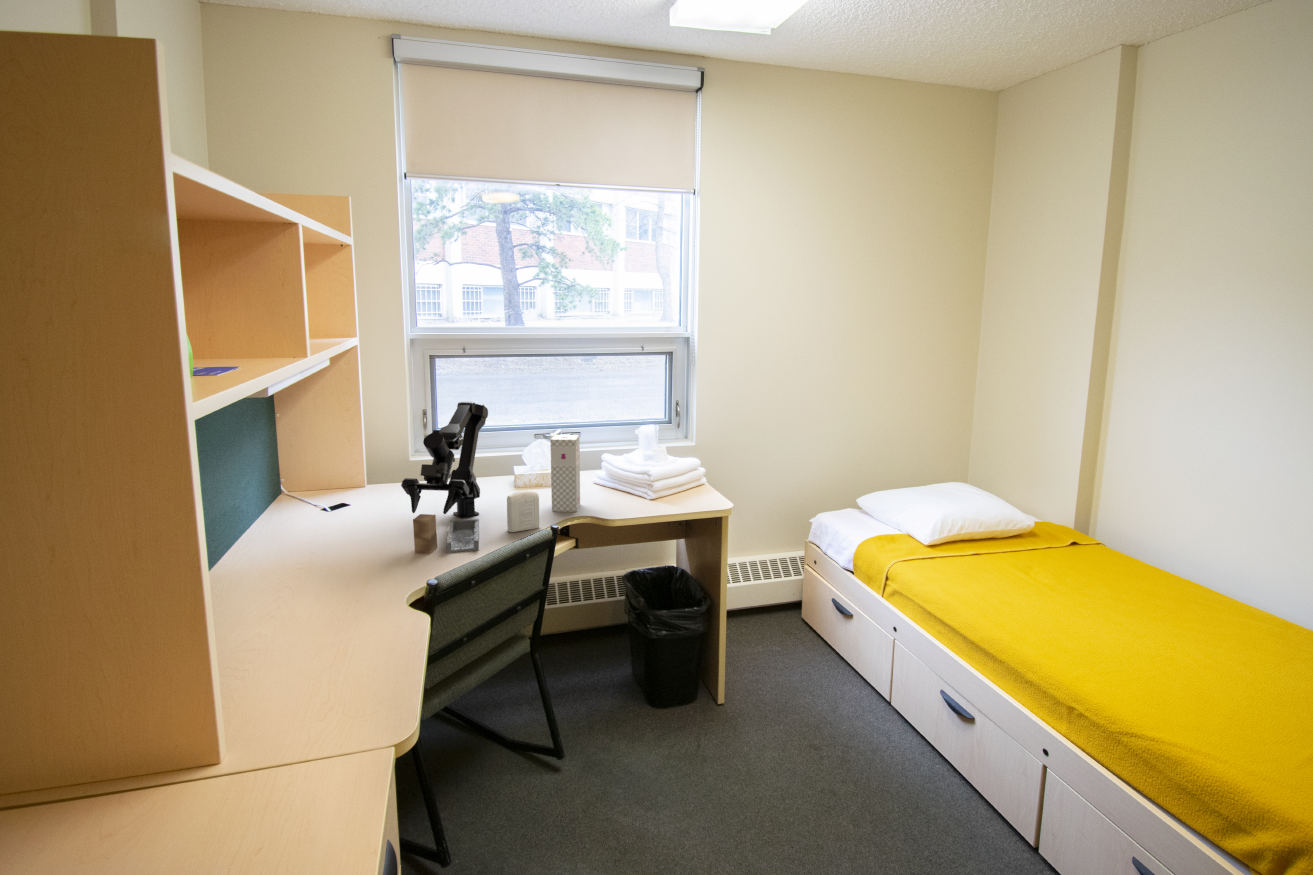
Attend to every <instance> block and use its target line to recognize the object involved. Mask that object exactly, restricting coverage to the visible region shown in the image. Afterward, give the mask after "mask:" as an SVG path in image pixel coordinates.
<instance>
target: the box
mask: <svg viewBox="0 0 1313 875" xmlns="http://www.w3.org/2000/svg"><path fill="white" fill-rule="evenodd" d="M580 449H581V448H580V434H554V435H553V436H552V437H551V438H550V474H551V475H550V479H551V484H550V485H551V512H571V513H572V512H574V513H575V512H576V513H577V512H578V510H579V507H580V506H581V479H580V478H581V468H580V467H581V466H580V465H581V460H580V459H581V458H580V455H581V454H580Z"/></svg>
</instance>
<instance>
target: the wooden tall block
mask: <svg viewBox="0 0 1313 875" xmlns="http://www.w3.org/2000/svg"><path fill="white" fill-rule="evenodd" d="M436 516H437V515H436V514H427V513H424V514H423V513H420V514H419V515H417V516H416V517H414V518H413V519H412V523H413V543H414V554H422V555H423V554H427V555H431V554H432V553H434V551H436V549H437V548H438V537H437V536H438V535H437V520H436V519H437V517H436Z"/></svg>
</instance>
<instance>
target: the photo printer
mask: <svg viewBox="0 0 1313 875" xmlns="http://www.w3.org/2000/svg"><path fill="white" fill-rule="evenodd" d="M506 516H507V522H506V523H507V532H509V533H516V532H522V531H527V530H535V529H539V528H540V497H539V493H538V492H536V491H534V490H520V491H516V492H513V493H511V494H509V495H507V497H506Z"/></svg>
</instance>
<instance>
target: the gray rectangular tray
mask: <svg viewBox="0 0 1313 875" xmlns="http://www.w3.org/2000/svg"><path fill="white" fill-rule="evenodd" d="M479 549H480V519H479V518H477V519H476V518H474V519H473V518H471V519H459V520H457V519H456V520H450V521H449V524H448V531H447V539H446V553H447V554H451V553H464V552H475V551H477V552H478V551H480V550H479Z"/></svg>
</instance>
